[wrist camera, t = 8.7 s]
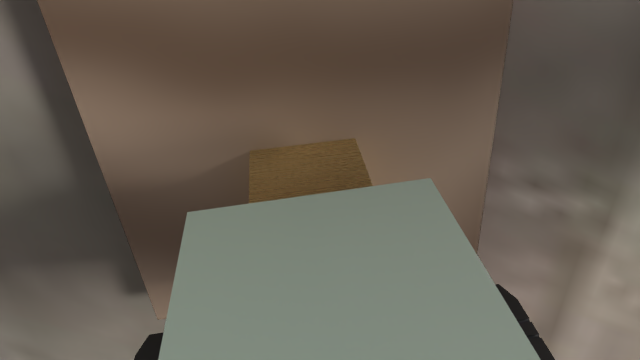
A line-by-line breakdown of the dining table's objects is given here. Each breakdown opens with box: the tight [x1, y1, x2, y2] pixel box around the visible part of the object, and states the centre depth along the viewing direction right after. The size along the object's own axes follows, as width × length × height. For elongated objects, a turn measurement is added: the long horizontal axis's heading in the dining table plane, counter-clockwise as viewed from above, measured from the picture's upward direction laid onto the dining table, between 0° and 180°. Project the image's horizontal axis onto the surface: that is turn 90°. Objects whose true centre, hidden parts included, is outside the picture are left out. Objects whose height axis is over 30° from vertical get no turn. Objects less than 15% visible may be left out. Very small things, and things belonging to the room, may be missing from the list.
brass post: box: [249, 138, 373, 203], centre depth 13 cm, size 3×3×6 cm
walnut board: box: [37, 0, 513, 320], centre depth 13 cm, size 20×12×2 cm, turn 4°
